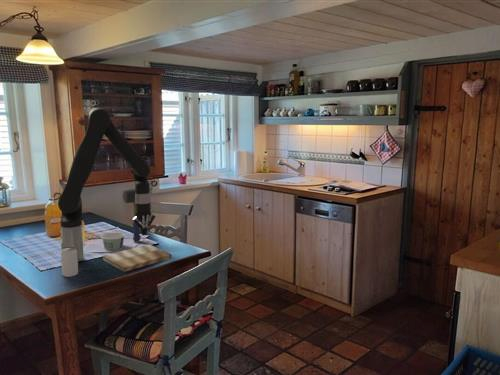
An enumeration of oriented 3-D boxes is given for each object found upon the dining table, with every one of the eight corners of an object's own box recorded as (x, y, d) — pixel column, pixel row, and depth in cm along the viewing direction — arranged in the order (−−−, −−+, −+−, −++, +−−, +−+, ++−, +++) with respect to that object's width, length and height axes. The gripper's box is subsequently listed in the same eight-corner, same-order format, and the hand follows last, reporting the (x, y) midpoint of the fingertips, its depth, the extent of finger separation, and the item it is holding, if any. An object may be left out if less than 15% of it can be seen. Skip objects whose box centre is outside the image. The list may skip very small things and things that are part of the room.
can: (65, 271, 183) (63, 246, 181) (80, 271, 184) (78, 246, 182) (60, 277, 177) (58, 251, 175) (75, 277, 177) (73, 250, 175)
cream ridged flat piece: (113, 265, 191) (113, 261, 191) (102, 259, 198) (102, 255, 198) (160, 252, 210) (160, 249, 209) (149, 247, 217) (149, 244, 216)
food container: (129, 244, 222) (128, 232, 221) (119, 251, 211) (119, 239, 210) (107, 243, 224) (107, 231, 222) (97, 250, 212) (97, 238, 211)
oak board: (124, 271, 184) (124, 267, 184) (113, 265, 191) (113, 261, 191) (172, 258, 203) (172, 254, 202) (160, 253, 210) (160, 249, 209)
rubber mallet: (128, 245, 220) (127, 190, 215) (123, 241, 226) (121, 188, 221) (150, 241, 228) (148, 188, 223) (144, 237, 234) (142, 186, 228)
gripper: (135, 204, 199) (136, 239, 202) (158, 200, 208) (159, 233, 211) (127, 202, 204) (128, 235, 207) (150, 198, 213) (151, 230, 216)
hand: (144, 234), depth 209 cm, fingers closed
